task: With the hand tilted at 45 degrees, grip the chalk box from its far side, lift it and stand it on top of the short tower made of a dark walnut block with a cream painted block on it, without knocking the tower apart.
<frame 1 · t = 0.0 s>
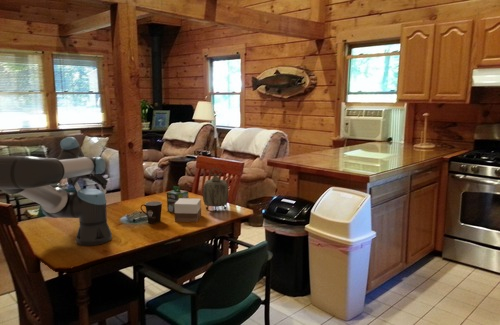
hand: (92, 192, 204), 15 cm above the table, tool tilted 35°, fingers open, 13 cm apart
tabletop clock: (215, 211, 225), on the table
coffee mug: (152, 221, 206), on the table
walnut block: (188, 219, 211), on the table, touching cream block
cream block: (188, 210, 211), point 5 cm above the table, touching walnut block
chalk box: (178, 211, 226), on the table
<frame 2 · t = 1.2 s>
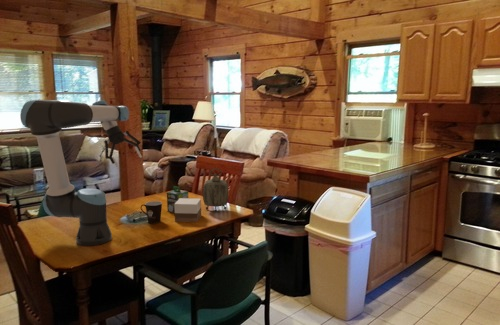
hand: (129, 162, 212), 29 cm above the table, tool tilted 25°, fingers open, 13 cm apart
nothing on the table moved.
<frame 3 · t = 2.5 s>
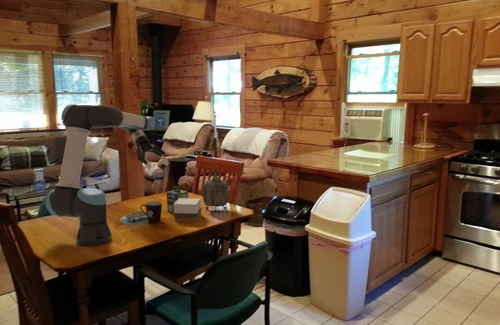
hand: (159, 166, 226), 25 cm above the table, tool tilted 45°, fingers open, 13 cm apart
nothing on the table moved.
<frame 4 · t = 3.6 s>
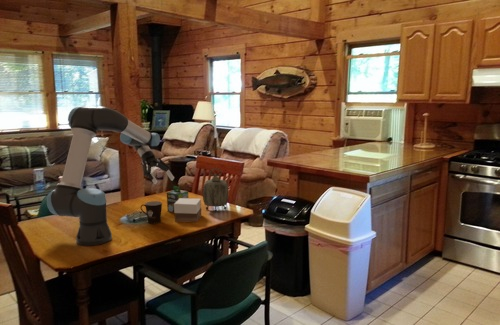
hand: (164, 181, 229), 16 cm above the table, tool tilted 45°, fingers open, 13 cm apart
walnut block: (188, 218, 211), on the table
cream block: (188, 210, 210), point 5 cm above the table
everything else where it was.
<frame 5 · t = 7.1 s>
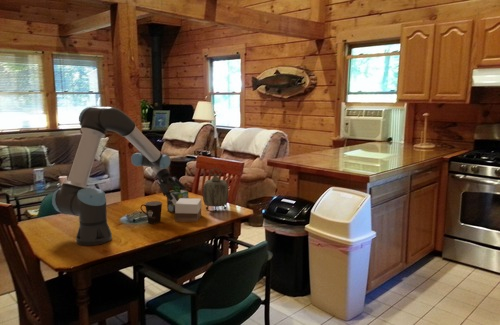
hand: (182, 201, 223), 6 cm above the table, tool tilted 45°, fingers closed on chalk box, 9 cm apart
walnut block: (188, 218, 212), on the table, touching cream block
cream block: (188, 210, 211), point 5 cm above the table, touching walnut block
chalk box: (178, 211, 226), on the table, touching gripper
everything else where it was.
when the fingers open (17 cm above the table, at t = 13.6 s): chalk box drops 2 cm, resting on cream block.
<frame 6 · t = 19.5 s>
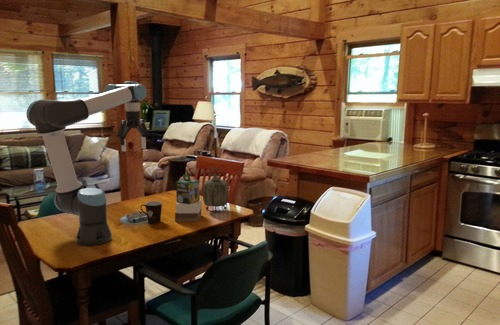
hand: (134, 150, 211), 37 cm above the table, tool pointing down, fingers open, 13 cm apart
walnut block: (188, 219, 211), on the table
cream block: (189, 210, 211), point 5 cm above the table, touching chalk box
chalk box: (188, 201, 209), point 9 cm above the table, touching cream block
everything else where it was.
at the end: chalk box inside the target area on the cream block (0.7 cm from its centre), point 4.8 cm above the cream block's base; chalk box tilted 0°; cream block 0.5 cm from the walnut block (horizontally) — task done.
